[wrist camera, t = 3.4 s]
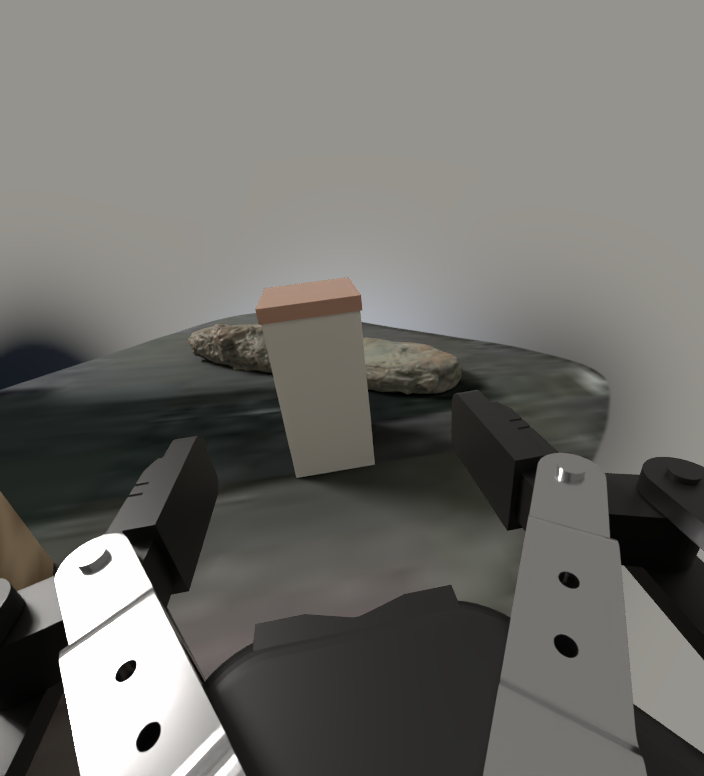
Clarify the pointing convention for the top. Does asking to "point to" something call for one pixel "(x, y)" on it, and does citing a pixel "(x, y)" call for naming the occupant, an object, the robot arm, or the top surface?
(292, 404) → the canister
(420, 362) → the long grey stone
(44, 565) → the oak block
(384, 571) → the top surface
